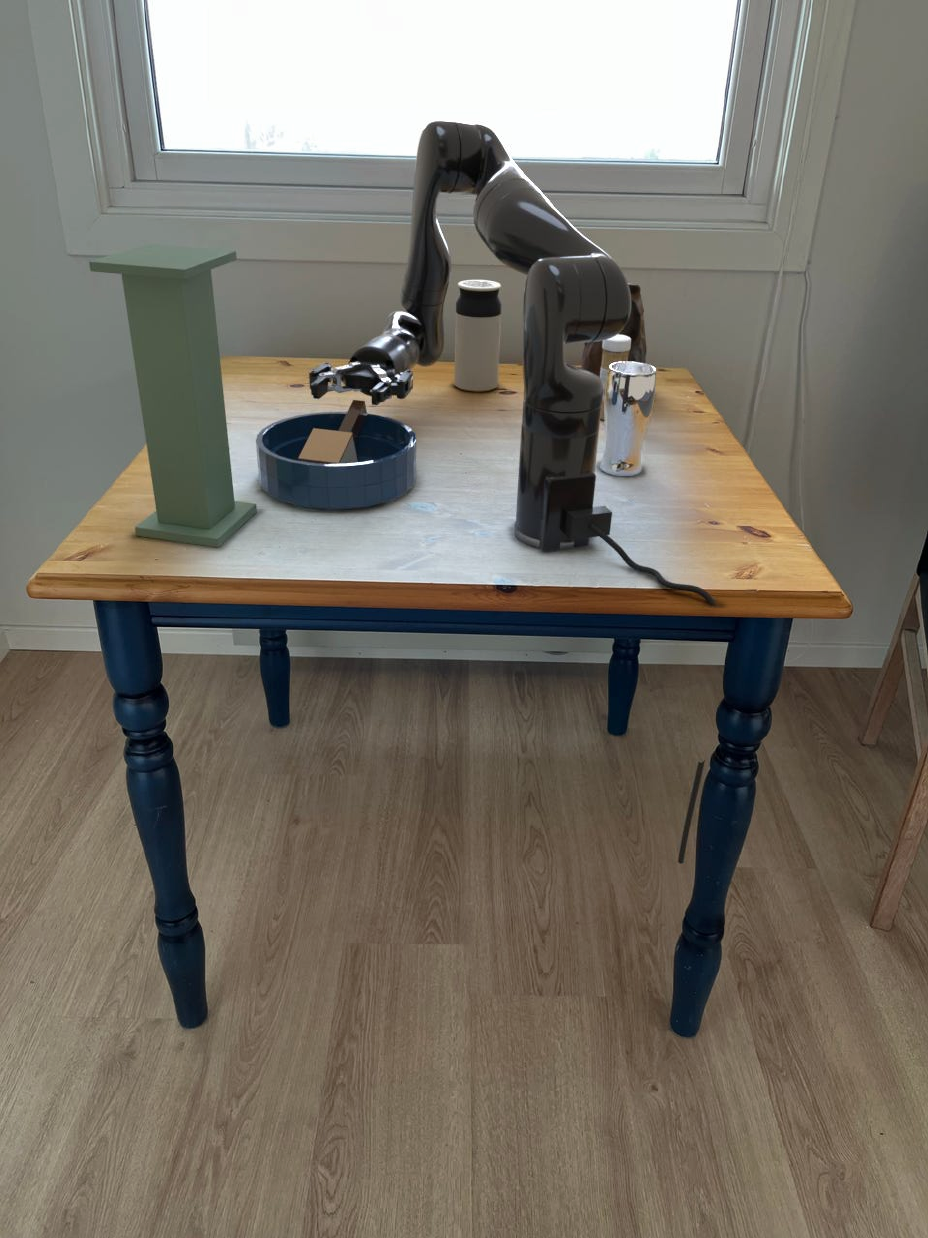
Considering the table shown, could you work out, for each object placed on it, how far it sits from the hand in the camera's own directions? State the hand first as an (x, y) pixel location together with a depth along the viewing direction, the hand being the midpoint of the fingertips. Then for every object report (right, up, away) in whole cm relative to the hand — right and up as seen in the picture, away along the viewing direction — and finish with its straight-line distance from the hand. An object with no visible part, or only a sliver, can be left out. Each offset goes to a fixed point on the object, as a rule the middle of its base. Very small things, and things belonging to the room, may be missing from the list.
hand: (344, 394), depth 130 cm
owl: (+44, +10, +43) cm, 63 cm away
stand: (-17, -19, -10) cm, 27 cm away
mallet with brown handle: (0, -7, +3) cm, 8 cm away
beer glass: (+40, -9, +10) cm, 42 cm away
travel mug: (+19, +12, +44) cm, 49 cm away
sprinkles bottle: (+41, +3, +31) cm, 51 cm away
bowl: (-1, -11, +3) cm, 12 cm away
